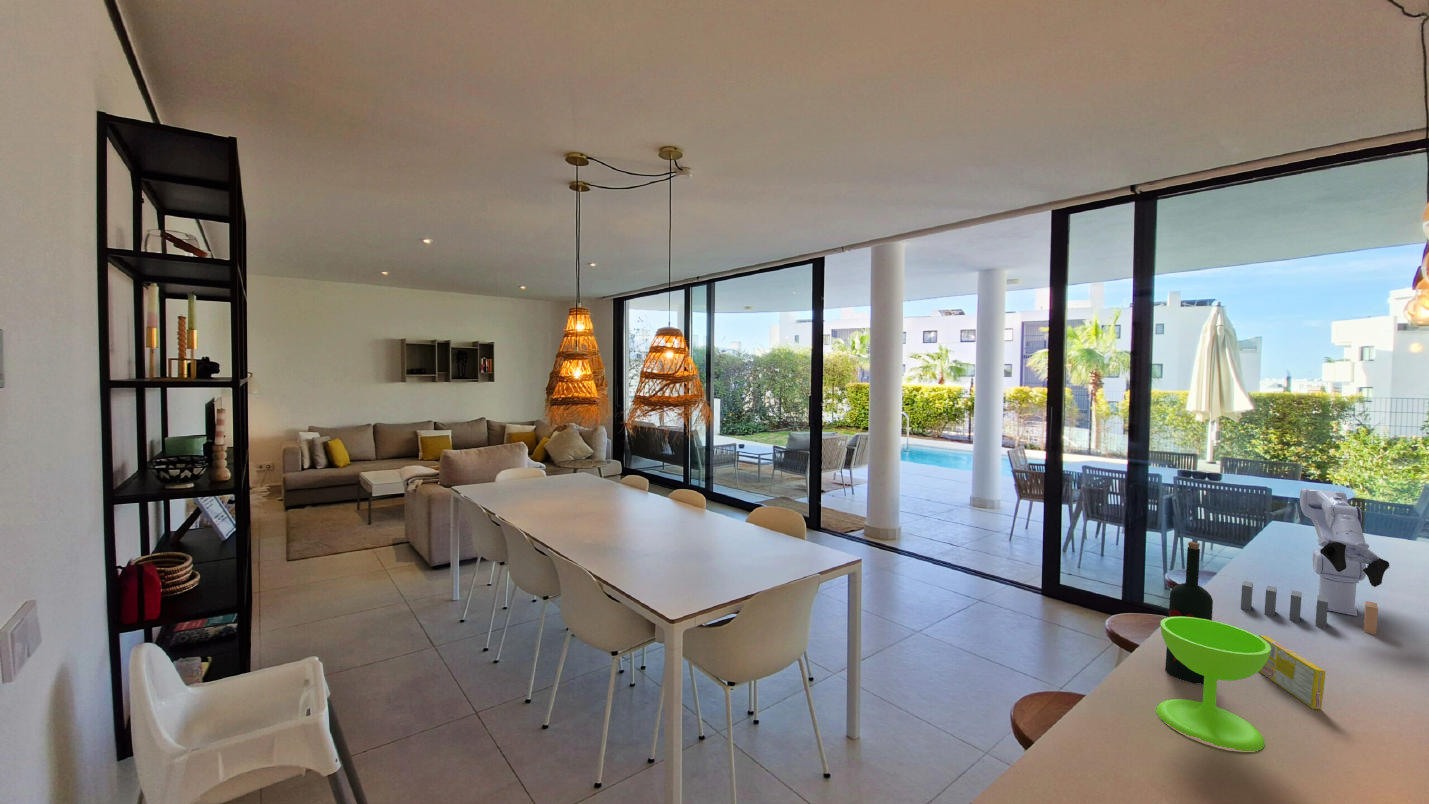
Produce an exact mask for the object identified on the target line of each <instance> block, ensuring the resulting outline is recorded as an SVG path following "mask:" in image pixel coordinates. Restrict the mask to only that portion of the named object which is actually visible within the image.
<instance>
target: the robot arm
mask: <svg viewBox="0 0 1429 804" xmlns="http://www.w3.org/2000/svg"><path fill="white" fill-rule="evenodd" d="M1299 493H1300V494H1299V503H1300V504H1299V505H1300V509H1301V511H1302V513H1303V516H1305V517H1307V518H1309V519H1310V520H1311V521H1312V524H1313V526H1314V528H1315V531H1316V534H1317V537H1318V539H1317V543H1318V546H1320V547H1317V548H1315V549H1314V551H1313V552H1312V567H1313V571H1314V572H1315V574H1316V575H1319V581H1318V583H1319V585H1318V596H1323V597H1328V611H1329V612H1335V613H1339V614H1344V615H1348V616H1355V617H1356V616H1357V617H1358V613H1357V606H1356V594H1357V584H1360V582H1359V581H1363V580H1365V578H1366V576H1367V578H1368V580H1369V583H1370V585H1371V586H1372V587H1374V588H1376V587H1378V586H1380V585H1382V583H1383V577H1384V575H1385V572H1386V571H1387V570H1388V569H1390V566H1391V565H1390V563H1389V561H1388V560H1385V559H1383V558H1381V557H1380V556H1378V555H1377V554H1375V552H1373V551H1372V550H1370V549H1369V548H1370V544H1368V543H1366V540H1365V536H1364V532H1363V528H1362V521H1363V520H1362V519H1363V515H1362V509H1361V508H1360V506H1351V505H1350V504H1349V503H1348V499H1347V498H1348V497H1347V494H1346V493H1345V492H1344V491H1340V490H1339V491H1335V490H1325V489H1324V490H1323V489H1314V488H1313V489H1312V488H1307V487H1303V488H1302V489H1300V492H1299ZM1315 608H1317V597H1316V598H1315Z"/></svg>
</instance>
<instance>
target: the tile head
mask: <svg viewBox="0 0 1429 804" xmlns="http://www.w3.org/2000/svg"><path fill="white" fill-rule="evenodd" d="M1363 616H1364V617H1363V618H1364V621H1363V630H1364V633H1367V634H1372V635H1377V628H1378V616H1379V607H1378V603H1377V602H1373V601H1368V600H1365V604H1364V615H1363Z"/></svg>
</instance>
